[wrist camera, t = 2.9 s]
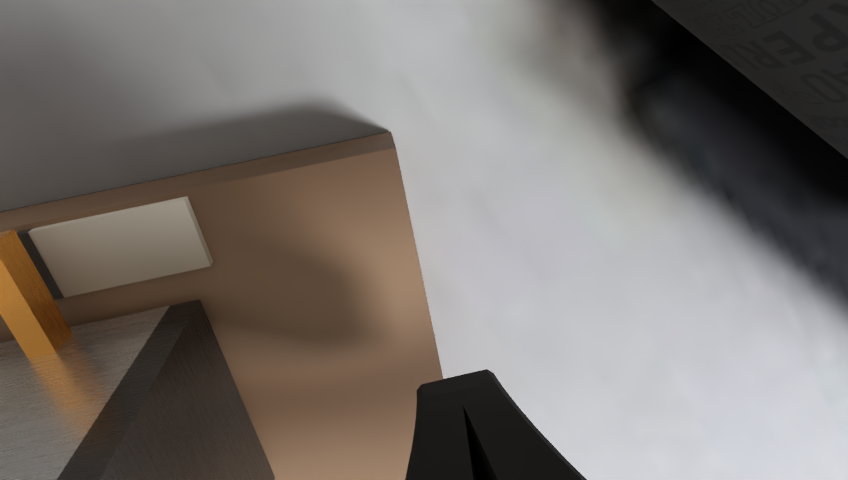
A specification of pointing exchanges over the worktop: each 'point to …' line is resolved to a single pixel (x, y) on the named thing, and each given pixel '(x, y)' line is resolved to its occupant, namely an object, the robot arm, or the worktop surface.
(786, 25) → the drinking cup
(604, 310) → the worktop surface
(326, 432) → the gauge board
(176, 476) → the gauge carriage
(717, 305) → the worktop surface
